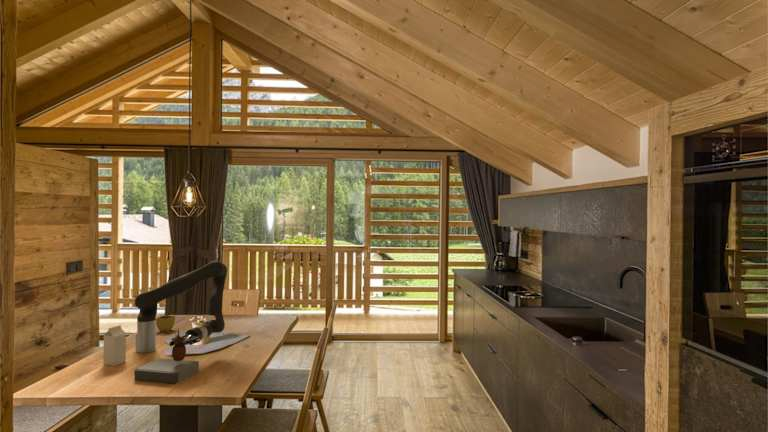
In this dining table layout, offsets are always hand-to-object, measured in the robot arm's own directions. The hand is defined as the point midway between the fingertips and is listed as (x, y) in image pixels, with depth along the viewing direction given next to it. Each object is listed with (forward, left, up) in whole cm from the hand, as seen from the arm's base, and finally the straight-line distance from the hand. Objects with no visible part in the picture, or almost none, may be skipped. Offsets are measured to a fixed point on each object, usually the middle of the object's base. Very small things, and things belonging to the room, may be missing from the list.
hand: (175, 344), depth 221 cm
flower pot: (-59, +72, -16) cm, 94 cm away
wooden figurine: (0, +3, -9) cm, 9 cm away
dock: (-4, +1, -15) cm, 16 cm away
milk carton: (-42, +10, -16) cm, 46 cm away
